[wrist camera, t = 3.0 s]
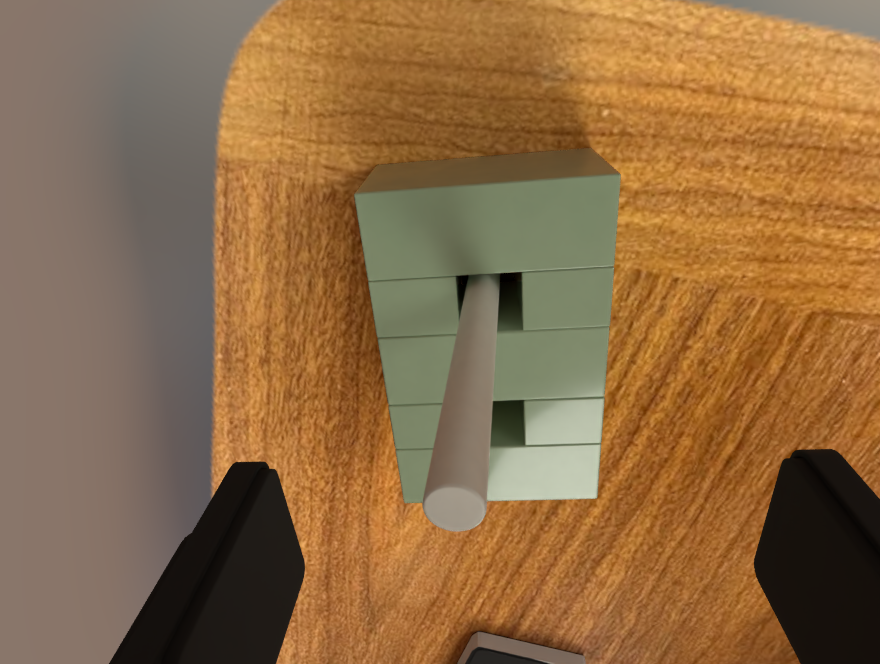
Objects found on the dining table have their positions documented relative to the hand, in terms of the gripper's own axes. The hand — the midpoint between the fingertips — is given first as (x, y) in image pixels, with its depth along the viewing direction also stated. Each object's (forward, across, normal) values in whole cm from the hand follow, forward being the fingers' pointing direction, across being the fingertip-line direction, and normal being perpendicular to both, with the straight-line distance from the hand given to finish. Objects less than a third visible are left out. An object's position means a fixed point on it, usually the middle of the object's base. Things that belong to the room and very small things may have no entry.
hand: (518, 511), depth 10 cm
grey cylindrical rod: (+14, 0, 0) cm, 14 cm away
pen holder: (+14, 0, +3) cm, 14 cm away
